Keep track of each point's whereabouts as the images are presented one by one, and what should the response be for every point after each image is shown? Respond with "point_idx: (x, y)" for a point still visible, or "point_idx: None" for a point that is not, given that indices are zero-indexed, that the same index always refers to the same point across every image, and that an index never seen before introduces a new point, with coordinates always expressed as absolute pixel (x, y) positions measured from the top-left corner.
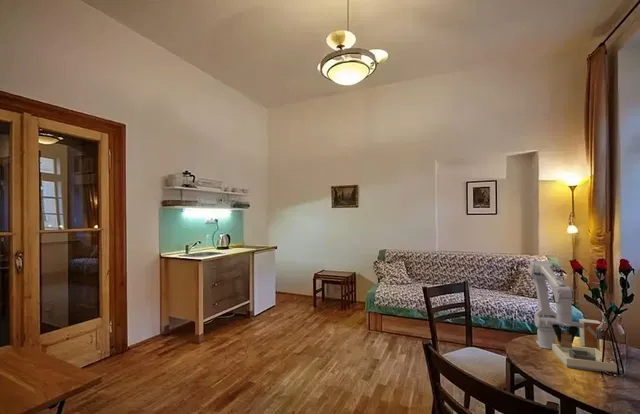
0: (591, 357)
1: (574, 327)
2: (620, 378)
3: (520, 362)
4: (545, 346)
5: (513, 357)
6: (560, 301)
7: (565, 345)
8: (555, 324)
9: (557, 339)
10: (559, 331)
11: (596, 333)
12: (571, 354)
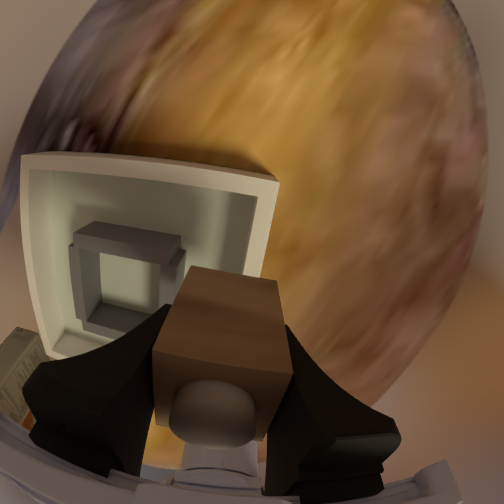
0: (90, 235)
1: (66, 442)
2: (68, 97)
3: (468, 220)
4: None
5: (462, 274)
6: None
7: (245, 283)
8: (347, 502)
9: None
10: (322, 401)
11: (31, 426)
12: None
